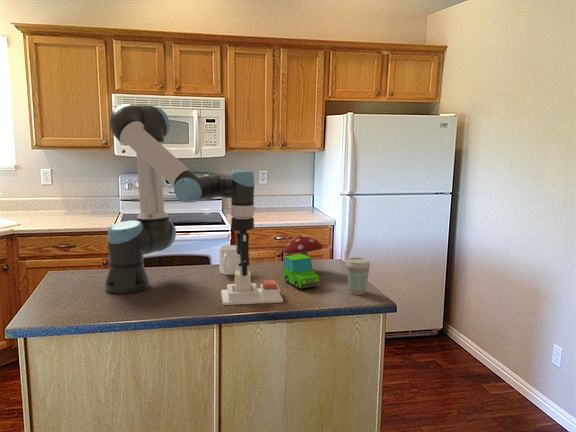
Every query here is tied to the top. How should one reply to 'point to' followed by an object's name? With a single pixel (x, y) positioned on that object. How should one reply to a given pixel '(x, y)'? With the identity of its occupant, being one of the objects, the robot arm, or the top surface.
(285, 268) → the toy car
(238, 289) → the plug
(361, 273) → the coffee cup
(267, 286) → the switch
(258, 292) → the socket plate
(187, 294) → the top surface
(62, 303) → the top surface
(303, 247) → the decorative mushroom
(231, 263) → the mug
